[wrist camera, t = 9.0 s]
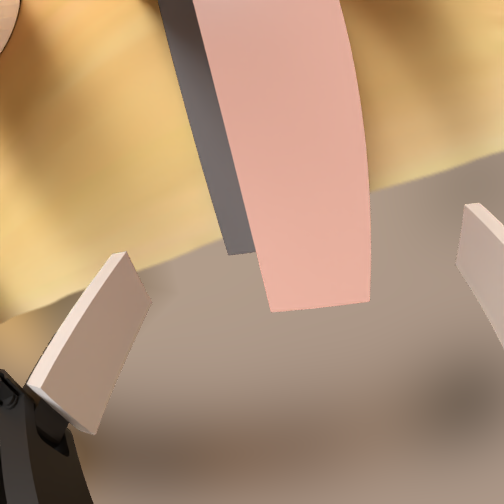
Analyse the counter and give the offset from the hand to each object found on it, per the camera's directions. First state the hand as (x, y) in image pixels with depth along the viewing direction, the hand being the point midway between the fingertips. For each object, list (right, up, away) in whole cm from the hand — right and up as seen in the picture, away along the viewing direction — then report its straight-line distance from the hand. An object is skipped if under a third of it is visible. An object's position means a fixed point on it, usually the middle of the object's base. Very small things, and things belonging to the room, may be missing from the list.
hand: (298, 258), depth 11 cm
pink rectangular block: (0, +7, +2) cm, 8 cm away
